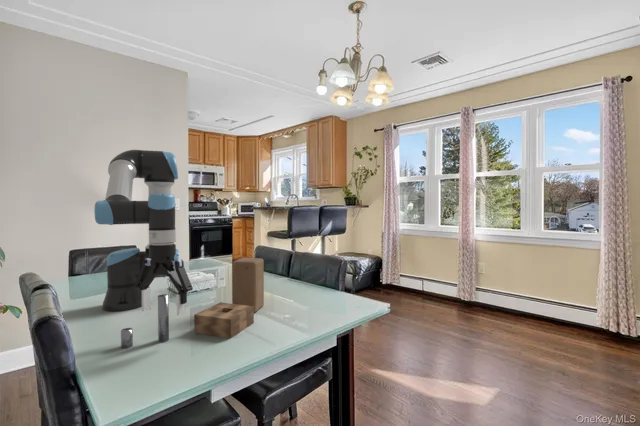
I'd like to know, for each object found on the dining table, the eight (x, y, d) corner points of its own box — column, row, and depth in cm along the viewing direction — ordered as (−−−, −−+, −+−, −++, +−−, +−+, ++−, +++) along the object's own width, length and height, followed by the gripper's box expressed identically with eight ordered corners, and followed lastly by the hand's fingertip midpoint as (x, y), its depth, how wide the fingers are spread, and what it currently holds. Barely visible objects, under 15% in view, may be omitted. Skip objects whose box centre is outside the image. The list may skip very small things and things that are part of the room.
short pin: (118, 347, 97) (118, 331, 97) (127, 343, 100) (127, 327, 100) (126, 349, 96) (126, 332, 96) (135, 345, 99) (134, 328, 99)
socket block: (194, 332, 108) (194, 314, 108) (220, 318, 122) (220, 302, 121) (231, 338, 104) (230, 319, 104) (253, 323, 117) (253, 306, 117)
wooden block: (255, 313, 127) (254, 262, 126) (231, 312, 129) (230, 261, 128) (264, 305, 137) (264, 257, 136) (242, 304, 139) (241, 257, 138)
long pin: (156, 341, 101) (155, 296, 101) (163, 337, 104) (163, 293, 104) (163, 342, 100) (163, 297, 100) (171, 338, 103) (170, 294, 103)
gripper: (121, 243, 102) (122, 311, 102) (186, 246, 94) (187, 320, 94) (141, 241, 109) (142, 305, 109) (204, 243, 101) (204, 312, 101)
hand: (163, 312), depth 102 cm, fingers open, 13 cm apart
